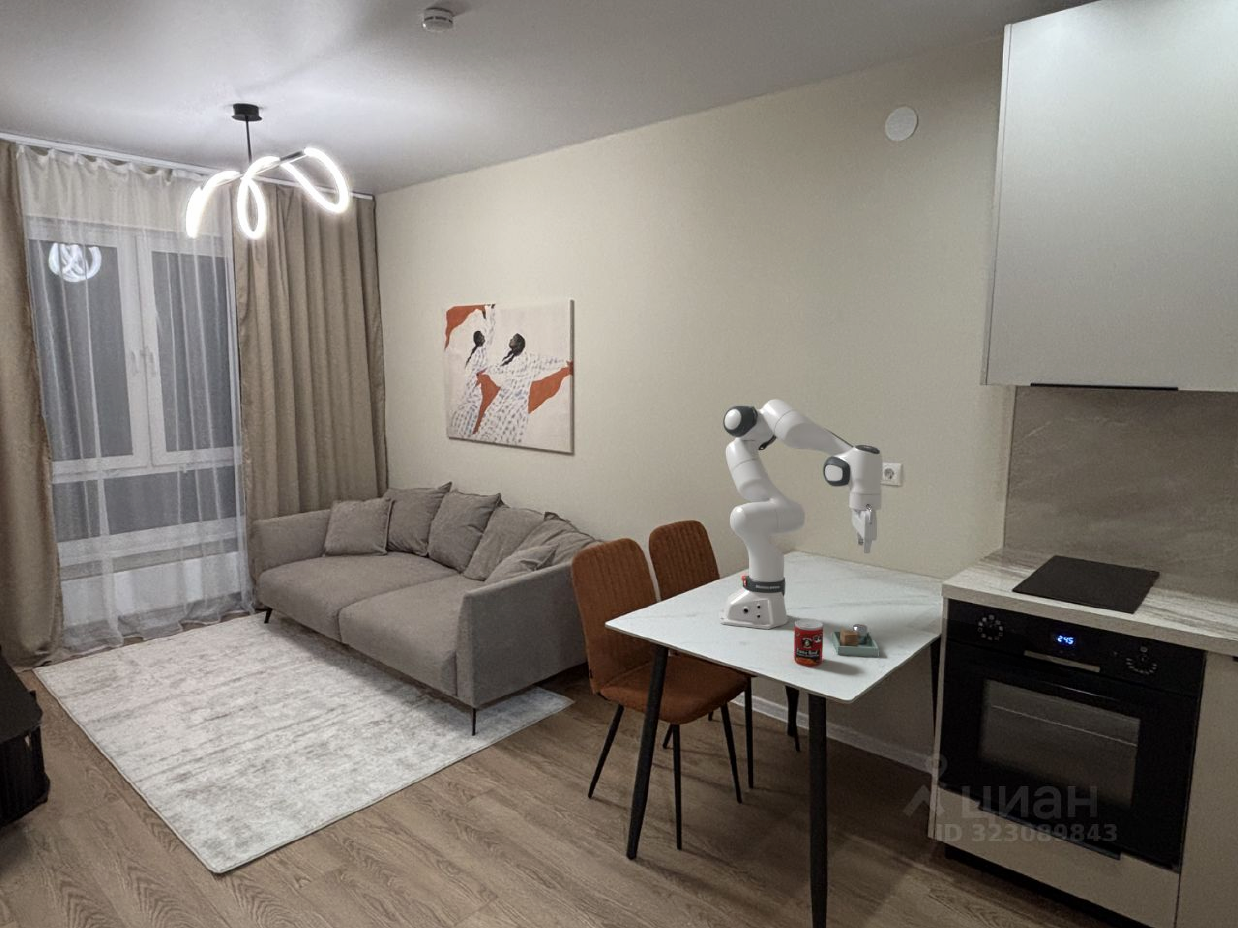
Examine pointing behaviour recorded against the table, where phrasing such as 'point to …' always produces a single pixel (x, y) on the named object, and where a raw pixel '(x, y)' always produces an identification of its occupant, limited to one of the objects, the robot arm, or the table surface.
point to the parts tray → (861, 650)
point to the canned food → (808, 642)
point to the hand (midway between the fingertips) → (863, 548)
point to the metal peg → (861, 633)
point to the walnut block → (848, 638)
